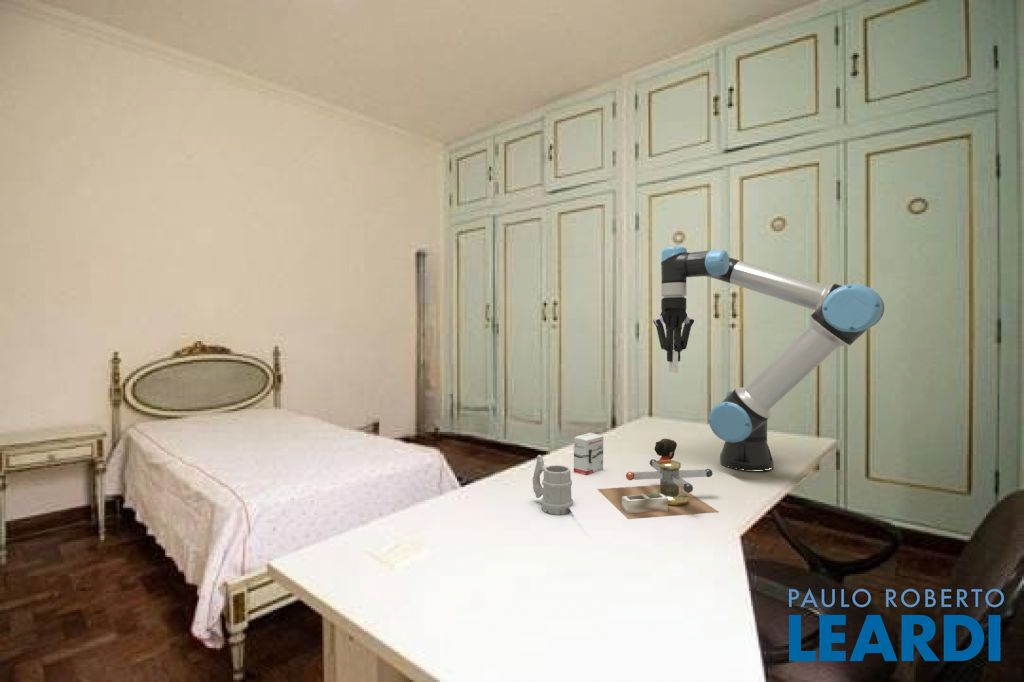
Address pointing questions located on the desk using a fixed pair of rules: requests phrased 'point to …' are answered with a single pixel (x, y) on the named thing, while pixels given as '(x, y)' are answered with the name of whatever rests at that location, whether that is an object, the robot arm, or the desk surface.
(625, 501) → the stand
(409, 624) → the desk surface
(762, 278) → the robot arm
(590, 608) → the desk surface
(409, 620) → the desk surface
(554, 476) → the mug
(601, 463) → the ink box
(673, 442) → the figurine
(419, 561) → the desk surface
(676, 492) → the capstan
